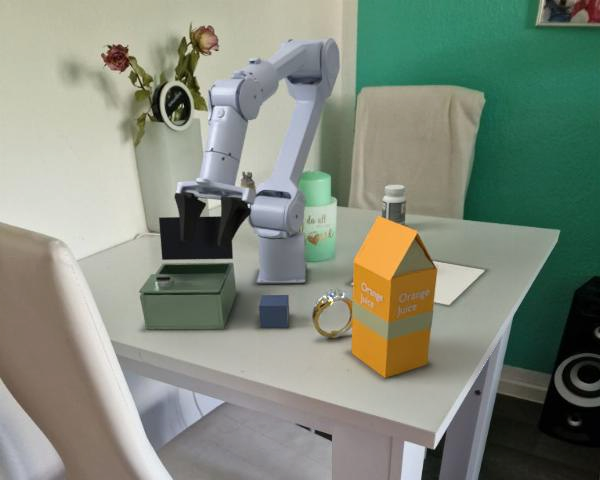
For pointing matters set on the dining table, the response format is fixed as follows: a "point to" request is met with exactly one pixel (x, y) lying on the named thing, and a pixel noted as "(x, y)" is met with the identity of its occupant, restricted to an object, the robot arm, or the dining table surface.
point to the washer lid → (201, 244)
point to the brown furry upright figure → (248, 181)
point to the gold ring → (320, 308)
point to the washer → (189, 296)
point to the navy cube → (274, 311)
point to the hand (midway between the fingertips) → (204, 244)
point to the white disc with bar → (163, 281)
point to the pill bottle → (394, 204)
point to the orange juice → (392, 299)
